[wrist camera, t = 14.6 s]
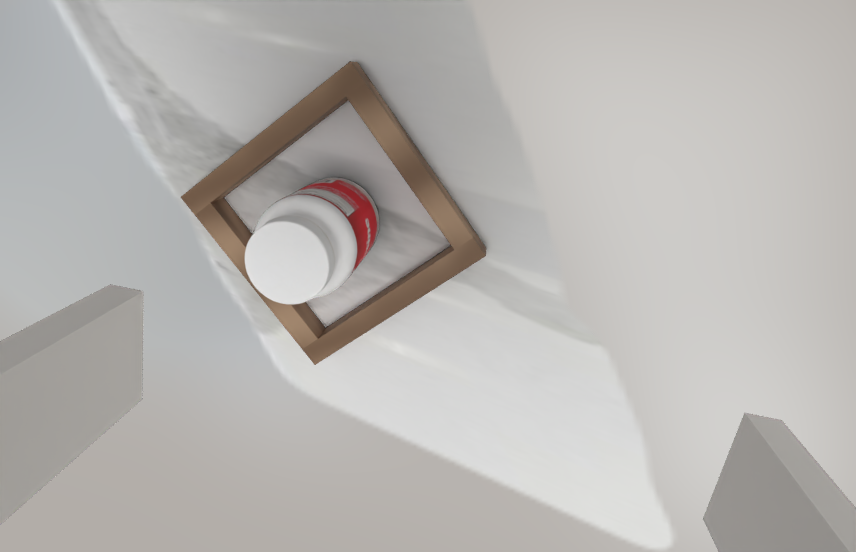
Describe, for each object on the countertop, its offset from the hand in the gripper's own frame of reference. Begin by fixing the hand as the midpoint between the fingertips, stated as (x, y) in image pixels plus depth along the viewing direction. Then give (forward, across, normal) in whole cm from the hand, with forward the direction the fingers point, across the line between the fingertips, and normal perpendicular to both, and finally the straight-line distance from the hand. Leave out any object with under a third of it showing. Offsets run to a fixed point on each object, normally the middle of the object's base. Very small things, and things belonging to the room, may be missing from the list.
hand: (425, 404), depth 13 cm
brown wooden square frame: (+29, -9, -4) cm, 30 cm away
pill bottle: (+29, -9, -4) cm, 31 cm away
